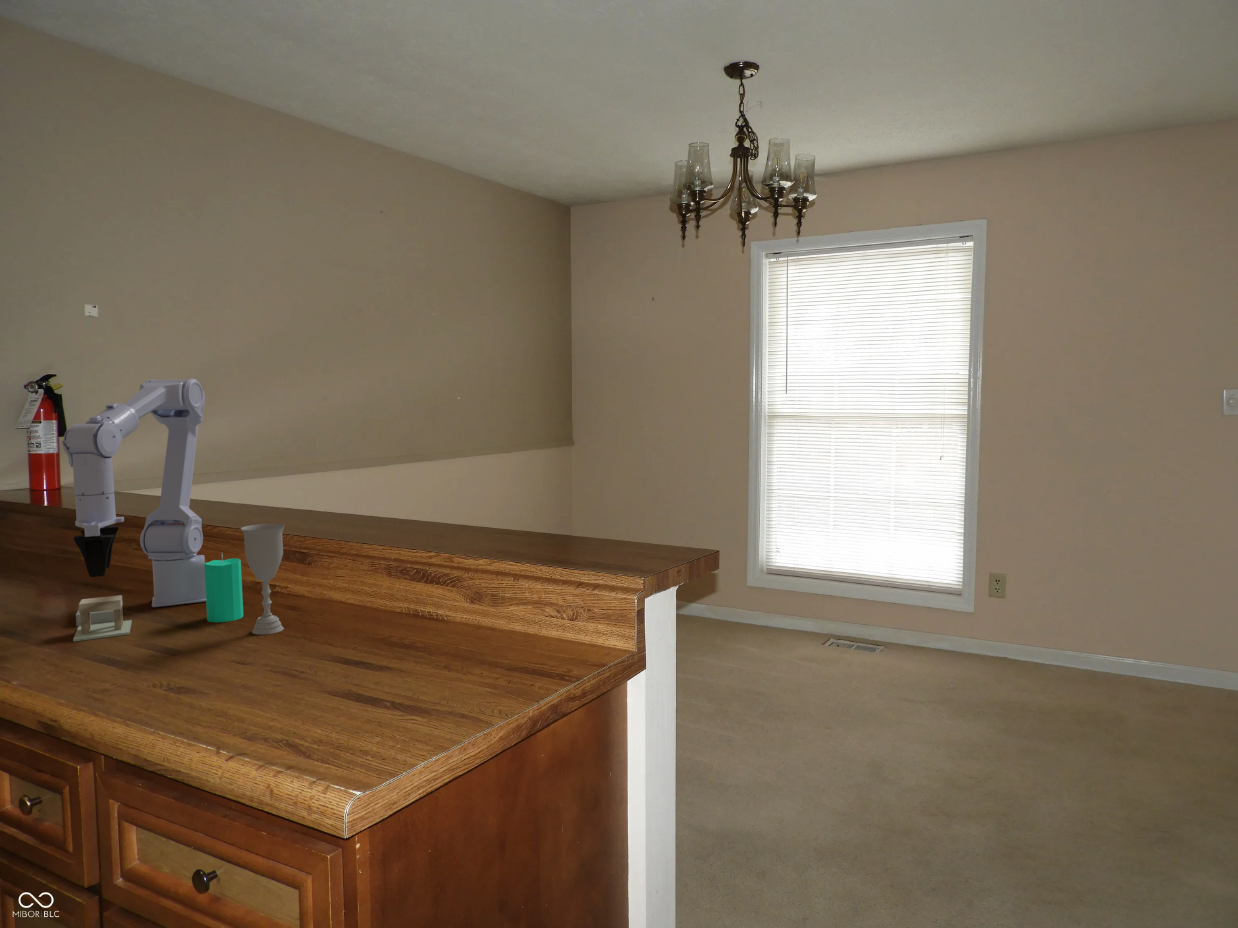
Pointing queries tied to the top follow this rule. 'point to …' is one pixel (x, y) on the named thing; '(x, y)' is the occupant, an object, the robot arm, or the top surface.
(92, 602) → the beige toy stool
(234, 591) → the candle
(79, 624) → the step
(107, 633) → the mat
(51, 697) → the top surface
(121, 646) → the top surface
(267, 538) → the chalice
